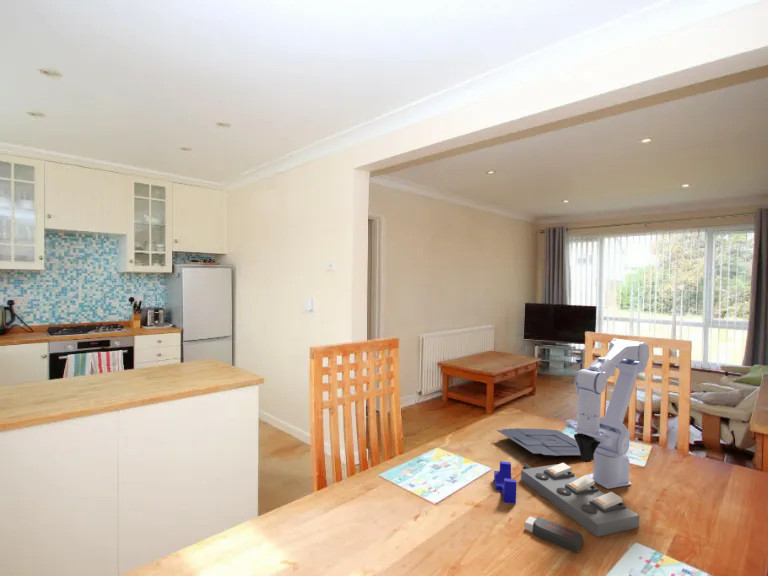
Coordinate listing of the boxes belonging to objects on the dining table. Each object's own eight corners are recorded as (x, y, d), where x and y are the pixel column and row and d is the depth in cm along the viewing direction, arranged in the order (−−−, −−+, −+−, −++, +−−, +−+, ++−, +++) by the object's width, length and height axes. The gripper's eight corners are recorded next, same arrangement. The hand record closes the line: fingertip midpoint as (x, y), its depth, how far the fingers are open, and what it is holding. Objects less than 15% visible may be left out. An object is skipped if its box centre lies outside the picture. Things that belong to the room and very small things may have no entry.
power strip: (540, 463, 133) (540, 452, 133) (638, 527, 100) (639, 512, 100) (506, 468, 129) (506, 457, 129) (597, 537, 96) (597, 521, 96)
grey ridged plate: (492, 435, 153) (493, 425, 153) (555, 436, 163) (557, 427, 163) (535, 464, 130) (537, 453, 130) (607, 463, 140) (608, 453, 140)
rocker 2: (611, 495, 106) (611, 491, 106) (622, 501, 103) (622, 497, 103) (593, 502, 104) (593, 498, 104) (604, 509, 101) (603, 505, 101)
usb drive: (576, 555, 90) (577, 542, 90) (523, 532, 97) (523, 520, 97) (583, 543, 94) (583, 531, 94) (531, 522, 101) (531, 511, 101)
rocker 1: (563, 465, 122) (563, 462, 122) (571, 470, 119) (571, 467, 119) (547, 471, 120) (546, 468, 120) (555, 476, 117) (554, 473, 117)
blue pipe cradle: (494, 480, 122) (494, 460, 122) (509, 482, 121) (510, 462, 121) (498, 502, 110) (499, 480, 110) (515, 504, 109) (516, 482, 109)
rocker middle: (585, 478, 114) (585, 474, 114) (595, 483, 111) (594, 480, 111) (569, 487, 112) (568, 483, 112) (578, 493, 109) (577, 489, 109)
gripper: (558, 406, 120) (556, 451, 120) (598, 423, 106) (596, 475, 106) (577, 404, 122) (575, 449, 122) (619, 421, 108) (617, 471, 109)
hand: (586, 461), depth 115 cm, fingers closed
